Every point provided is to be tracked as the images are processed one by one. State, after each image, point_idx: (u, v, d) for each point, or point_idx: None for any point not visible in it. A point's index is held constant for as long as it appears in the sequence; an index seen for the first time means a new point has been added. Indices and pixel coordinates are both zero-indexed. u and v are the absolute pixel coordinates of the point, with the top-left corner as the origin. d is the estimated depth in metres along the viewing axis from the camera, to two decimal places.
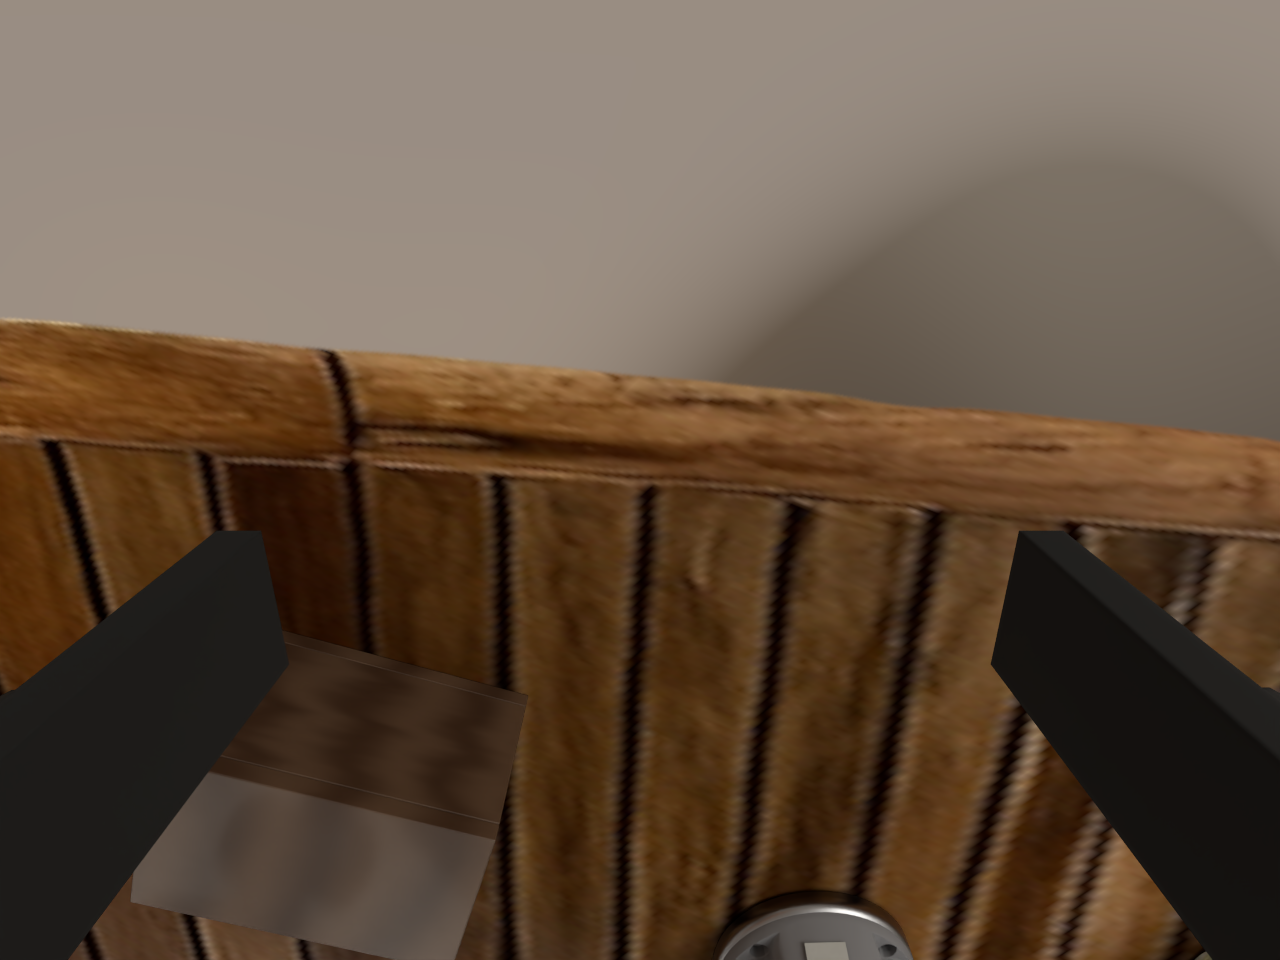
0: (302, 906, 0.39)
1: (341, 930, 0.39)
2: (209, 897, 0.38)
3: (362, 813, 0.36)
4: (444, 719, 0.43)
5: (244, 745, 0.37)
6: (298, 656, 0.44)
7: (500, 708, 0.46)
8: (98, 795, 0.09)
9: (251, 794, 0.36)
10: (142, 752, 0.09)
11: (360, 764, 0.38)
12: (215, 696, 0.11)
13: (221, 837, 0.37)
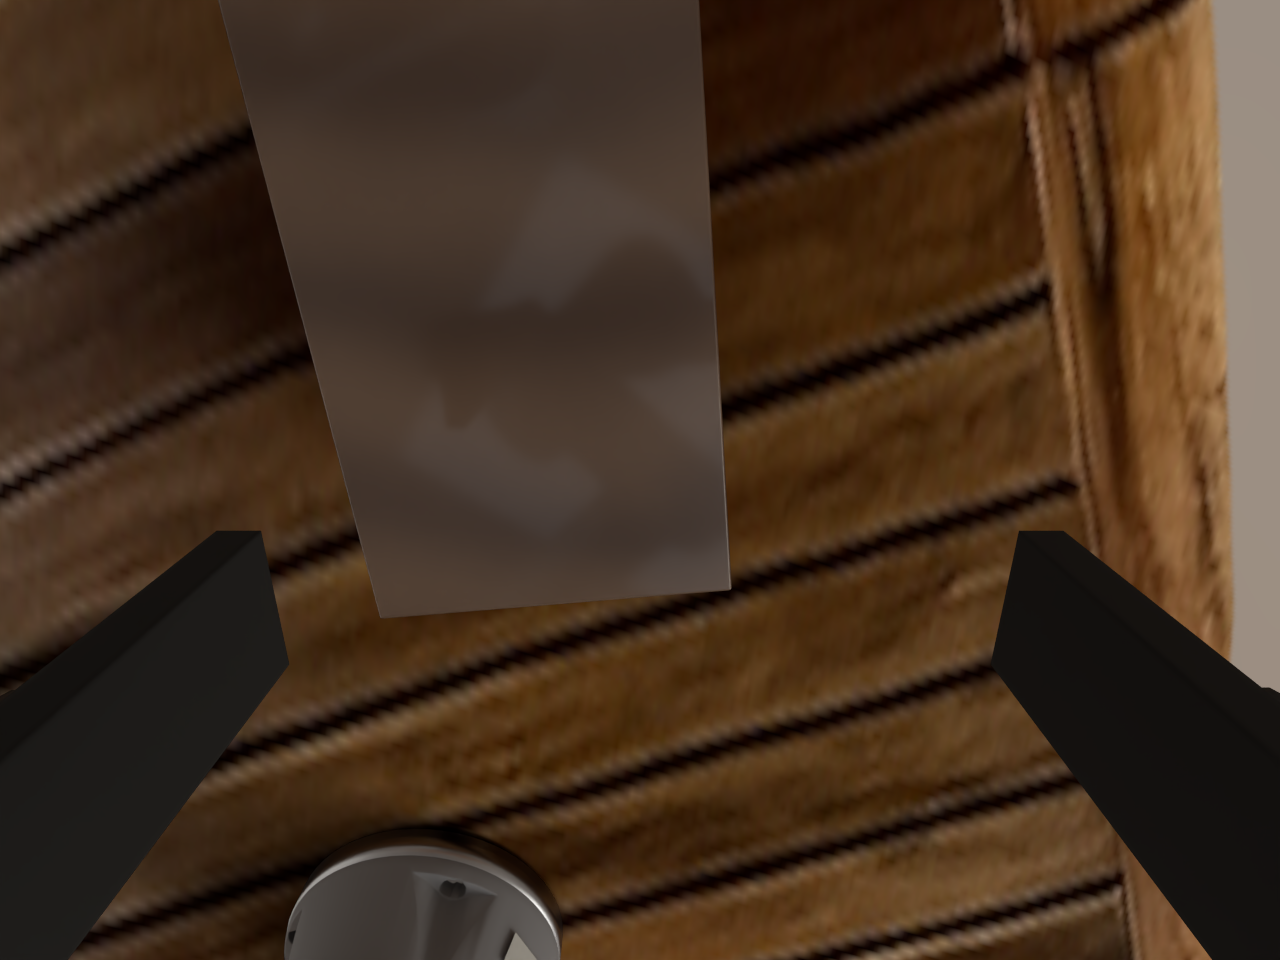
0: (403, 313, 0.18)
1: (377, 406, 0.19)
2: (318, 102, 0.16)
3: (707, 360, 0.18)
4: None
5: None
6: None
7: None
8: (98, 795, 0.09)
9: (670, 126, 0.16)
10: (142, 752, 0.09)
11: None
12: (215, 696, 0.11)
13: (520, 89, 0.16)
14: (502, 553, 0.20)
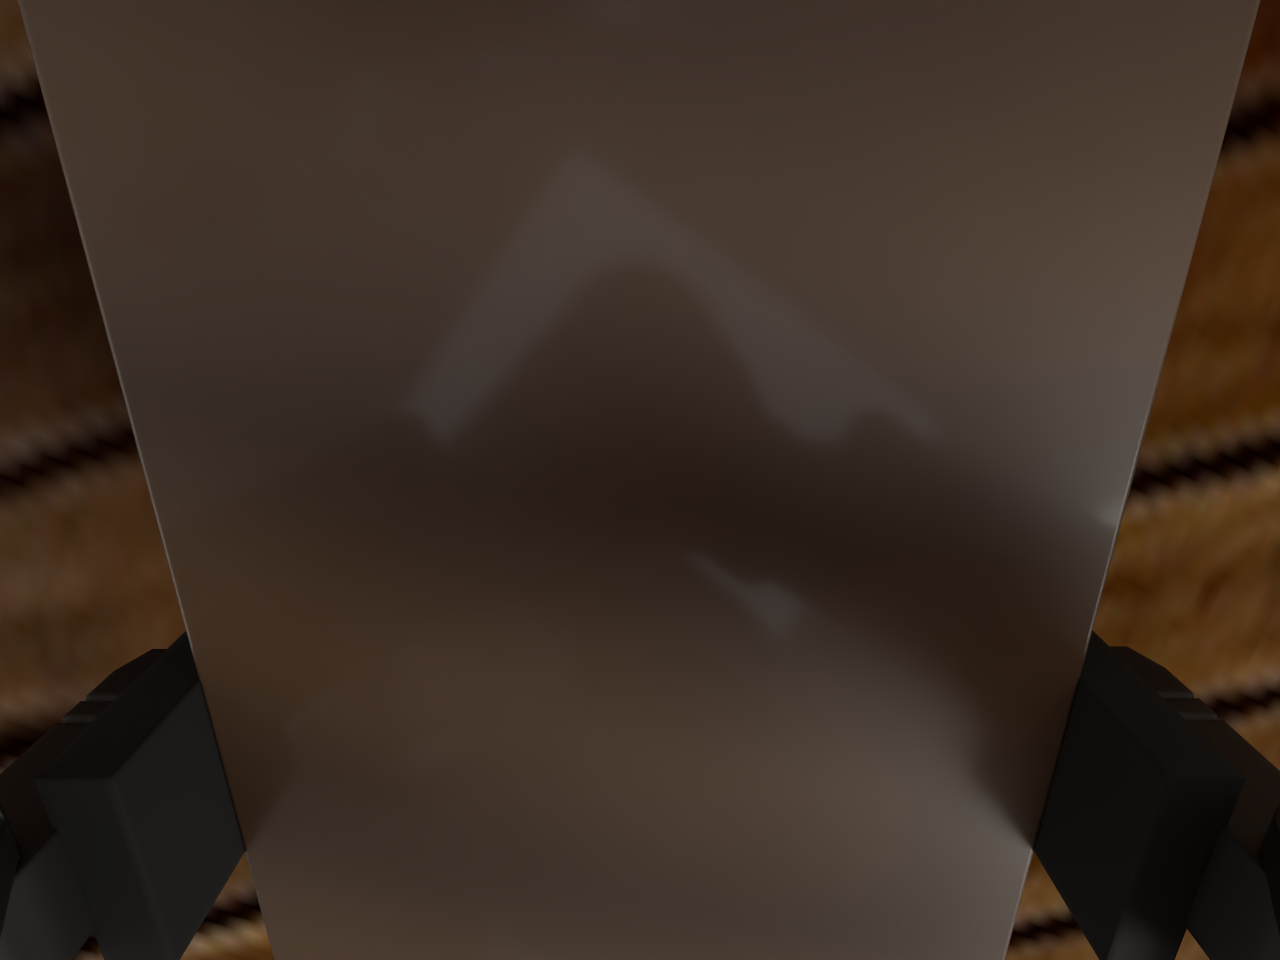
0: (389, 472, 0.07)
1: (311, 657, 0.08)
2: None
3: (1071, 627, 0.08)
4: None
5: None
6: None
7: None
8: None
9: (1147, 85, 0.06)
10: None
11: None
12: None
13: None
14: (551, 935, 0.10)
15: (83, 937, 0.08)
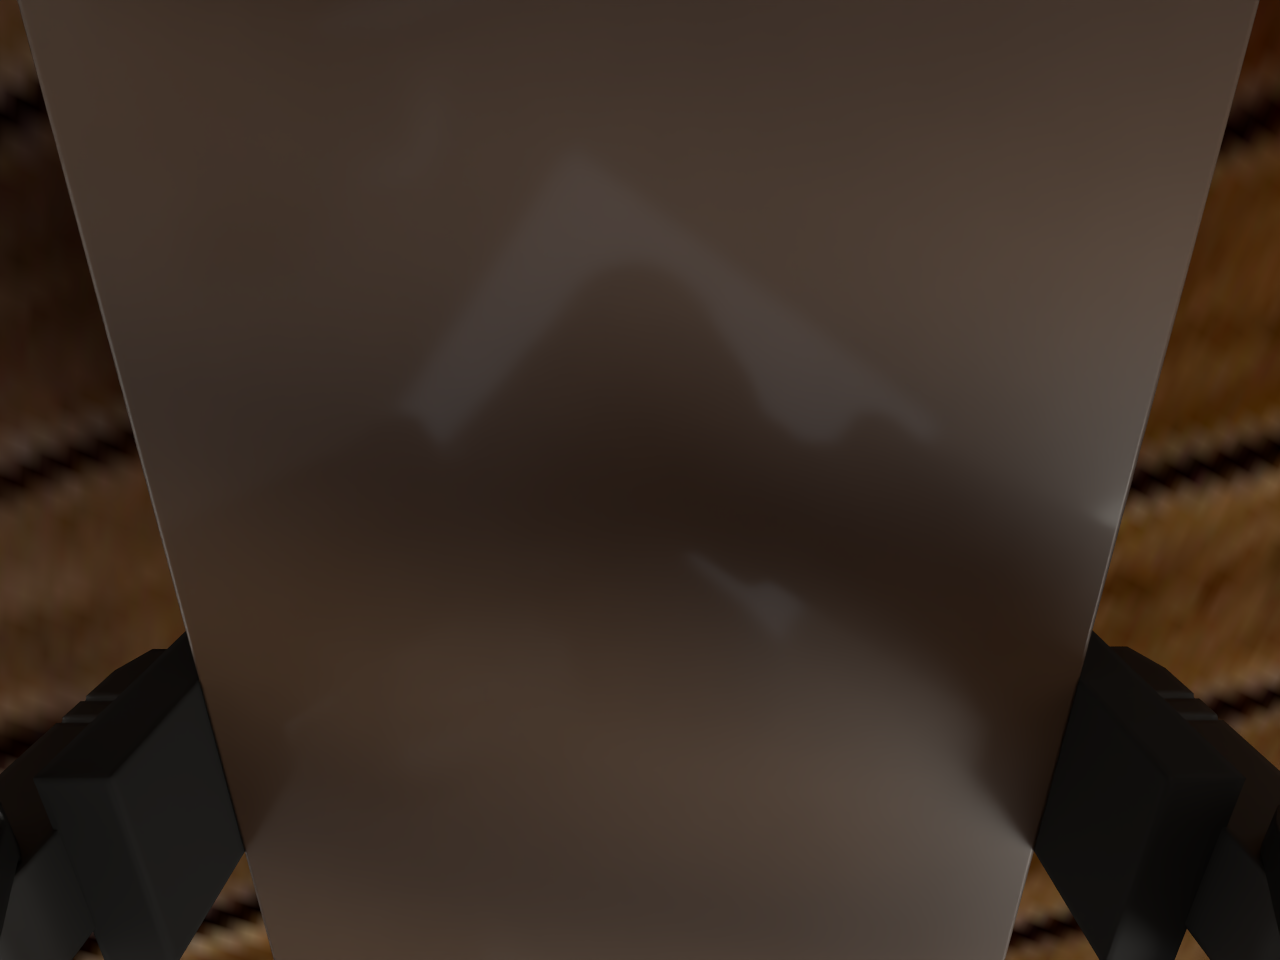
0: (389, 472, 0.07)
1: (311, 657, 0.08)
2: None
3: (1071, 626, 0.08)
4: None
5: None
6: None
7: None
8: None
9: (1148, 84, 0.06)
10: None
11: None
12: None
13: None
14: (551, 935, 0.10)
15: (83, 938, 0.08)
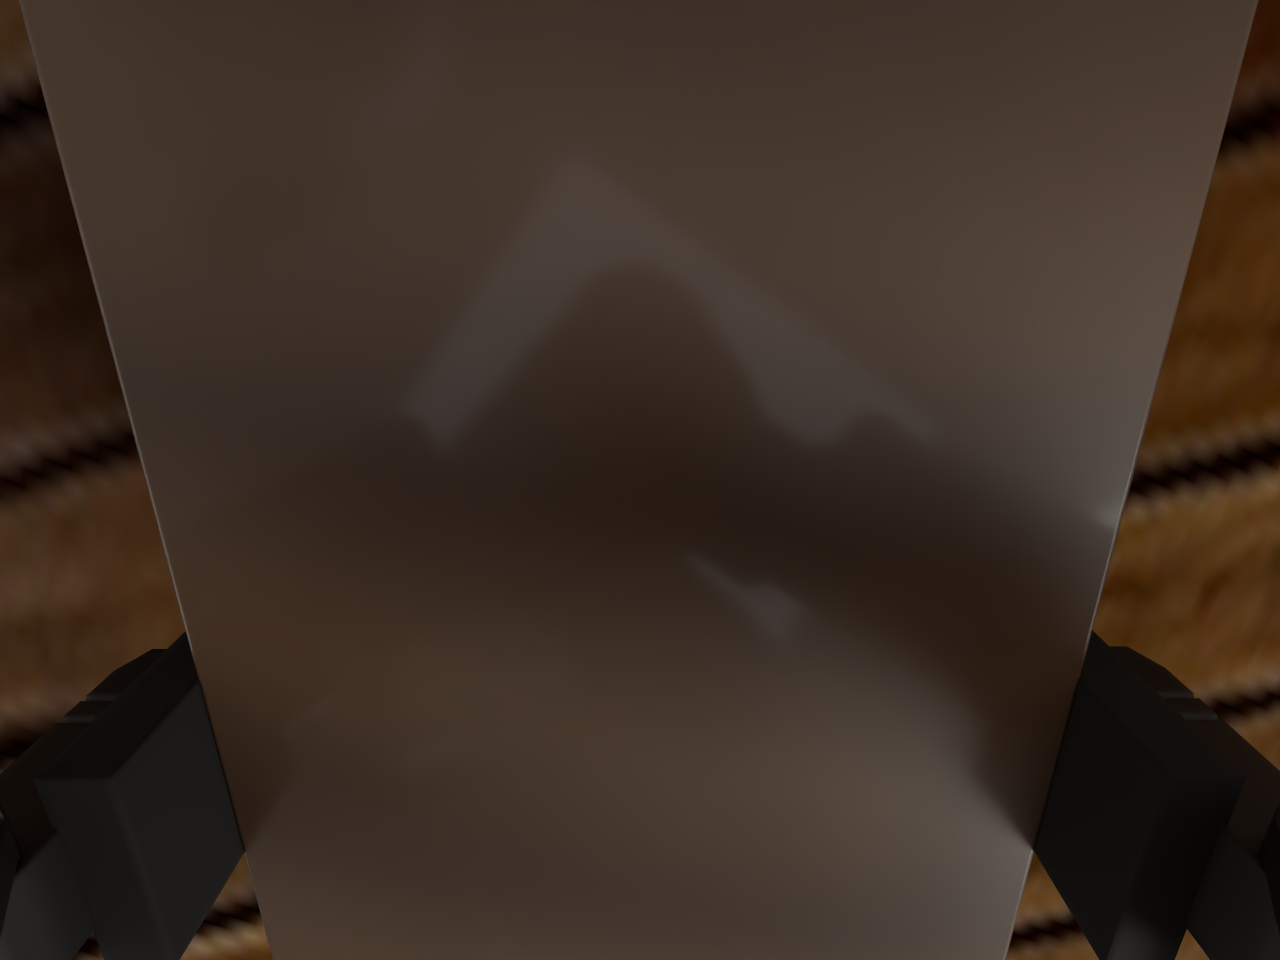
0: (389, 471, 0.07)
1: (311, 657, 0.08)
2: None
3: (1071, 626, 0.08)
4: None
5: None
6: None
7: None
8: None
9: (1146, 84, 0.06)
10: None
11: None
12: None
13: None
14: (551, 936, 0.10)
15: (83, 937, 0.08)
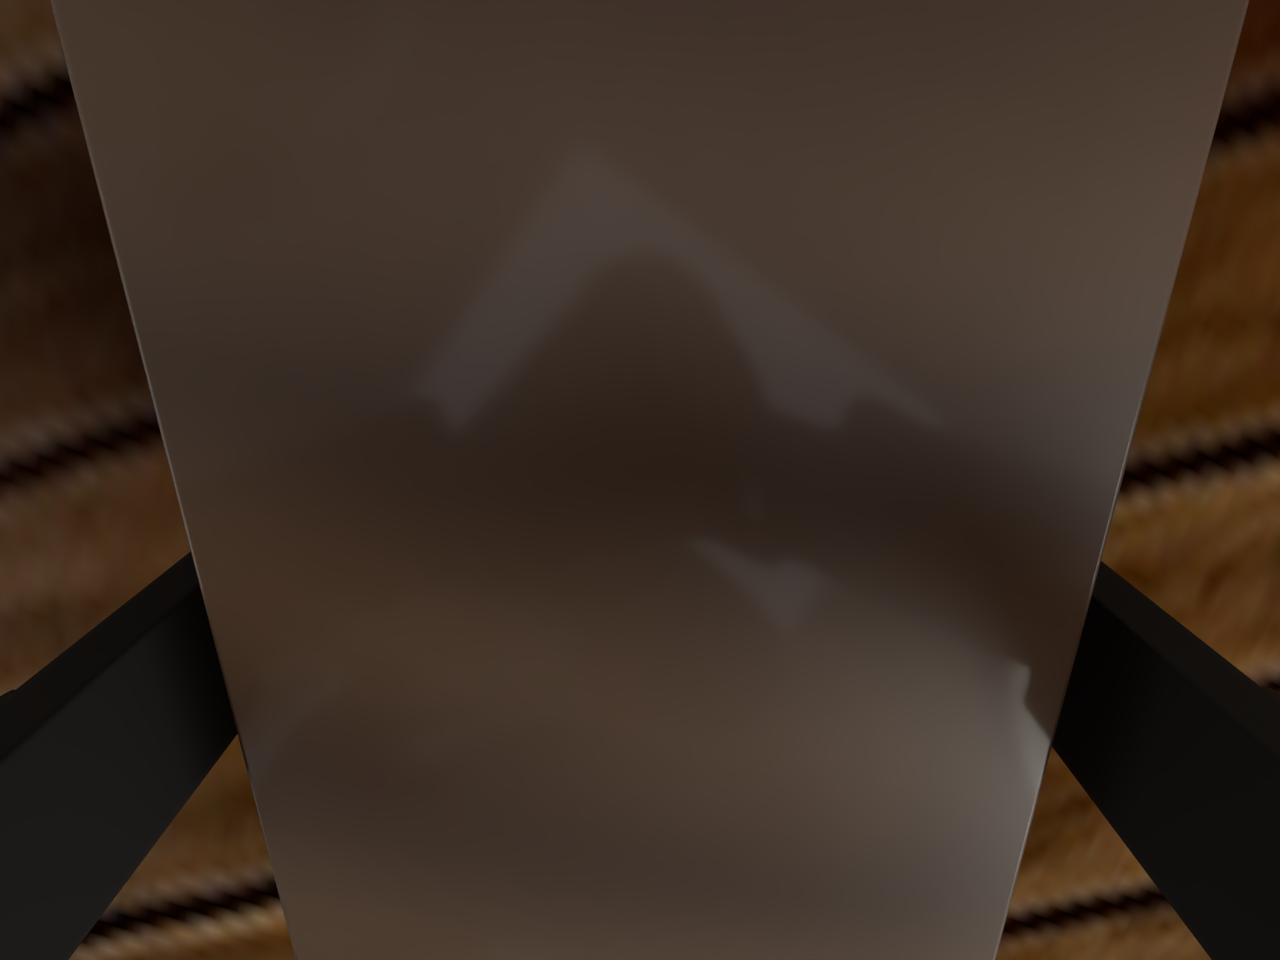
0: (401, 439, 0.08)
1: (324, 622, 0.09)
2: None
3: (1070, 595, 0.08)
4: None
5: None
6: None
7: None
8: (98, 795, 0.09)
9: (1145, 54, 0.06)
10: (143, 752, 0.09)
11: None
12: (215, 696, 0.11)
13: None
14: (557, 900, 0.10)
15: None
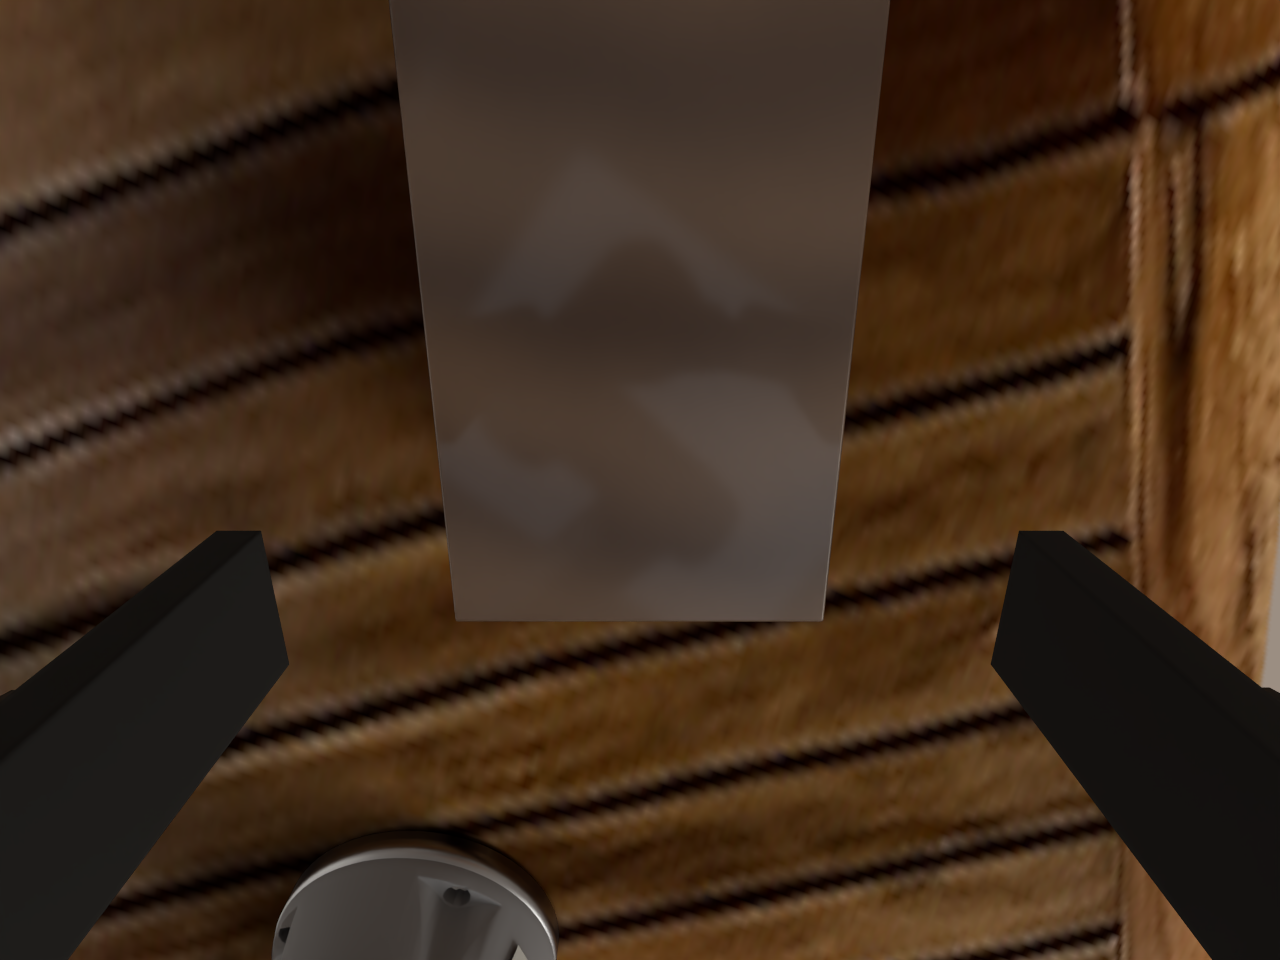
0: (529, 308, 0.17)
1: (487, 402, 0.18)
2: (475, 79, 0.15)
3: (837, 386, 0.18)
4: None
5: None
6: None
7: None
8: (98, 795, 0.09)
9: (838, 143, 0.16)
10: (141, 752, 0.09)
11: None
12: (215, 696, 0.11)
13: (689, 88, 0.15)
14: (594, 564, 0.20)
15: None
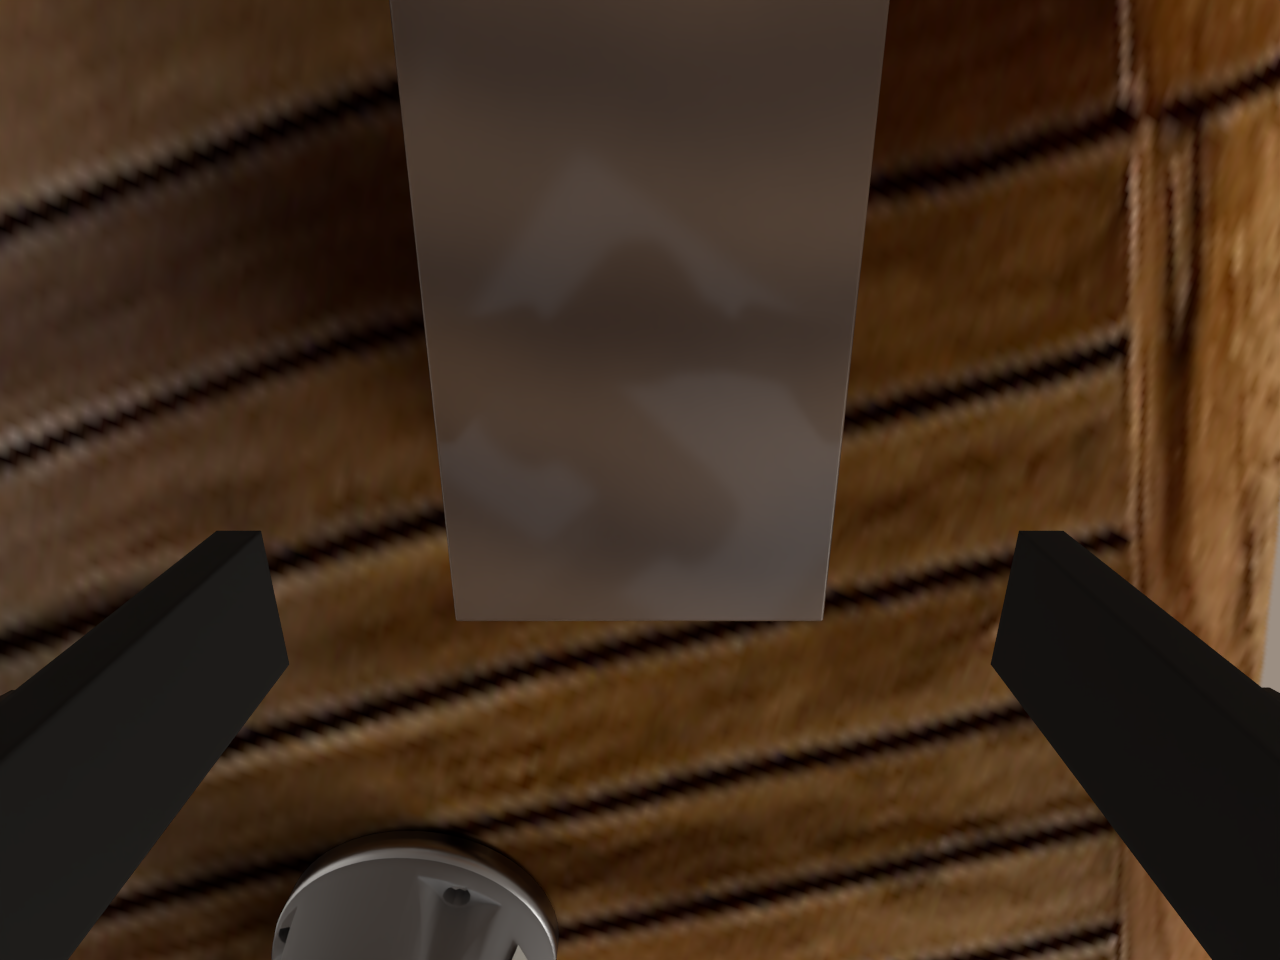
0: (530, 308, 0.17)
1: (487, 401, 0.18)
2: (476, 80, 0.15)
3: (837, 386, 0.18)
4: None
5: None
6: None
7: None
8: (98, 795, 0.09)
9: (838, 144, 0.16)
10: (142, 751, 0.09)
11: None
12: (215, 696, 0.11)
13: (689, 88, 0.15)
14: (594, 564, 0.20)
15: None
